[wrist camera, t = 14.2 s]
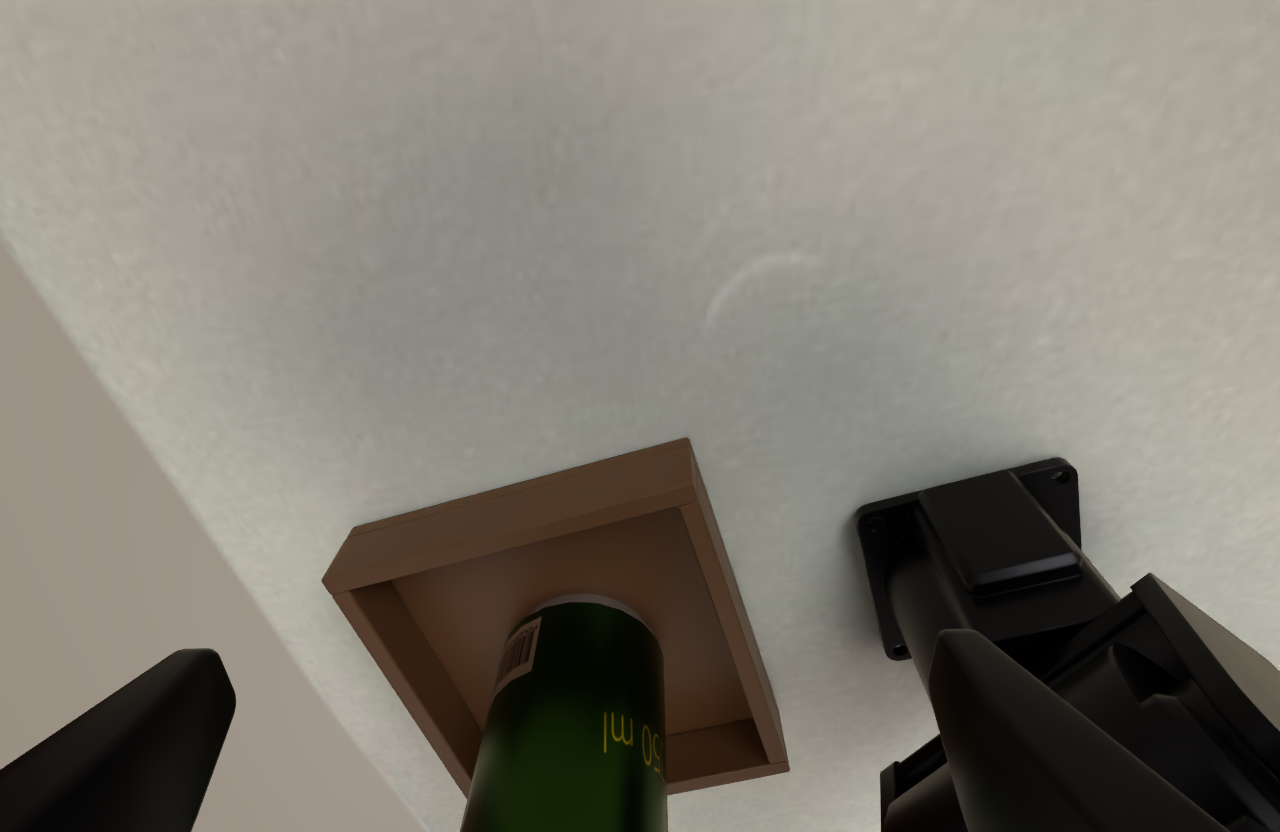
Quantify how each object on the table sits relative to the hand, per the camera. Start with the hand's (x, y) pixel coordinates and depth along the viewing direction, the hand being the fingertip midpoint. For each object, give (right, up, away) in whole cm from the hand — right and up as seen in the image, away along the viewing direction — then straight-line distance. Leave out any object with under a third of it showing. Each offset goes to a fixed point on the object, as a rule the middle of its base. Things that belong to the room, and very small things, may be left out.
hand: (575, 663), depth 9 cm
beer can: (-1, -5, +16) cm, 17 cm away
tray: (-1, -4, +16) cm, 17 cm away
